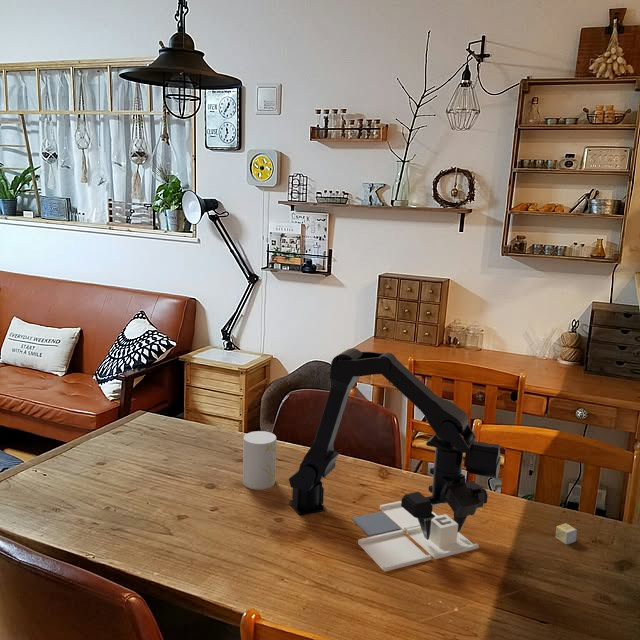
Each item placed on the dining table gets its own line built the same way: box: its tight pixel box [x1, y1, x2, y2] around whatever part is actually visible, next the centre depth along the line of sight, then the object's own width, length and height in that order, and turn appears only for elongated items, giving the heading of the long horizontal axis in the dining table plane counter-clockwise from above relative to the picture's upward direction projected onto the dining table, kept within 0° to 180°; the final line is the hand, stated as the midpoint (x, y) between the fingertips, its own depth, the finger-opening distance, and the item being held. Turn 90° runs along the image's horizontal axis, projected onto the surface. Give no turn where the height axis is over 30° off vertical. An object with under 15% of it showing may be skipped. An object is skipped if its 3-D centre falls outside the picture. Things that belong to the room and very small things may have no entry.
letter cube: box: [429, 513, 458, 548], centre depth 138 cm, size 4×4×5 cm
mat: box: [350, 510, 401, 537], centre depth 144 cm, size 8×8×1 cm
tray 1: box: [379, 500, 439, 533], centre depth 148 cm, size 11×11×1 cm
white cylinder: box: [242, 430, 277, 490], centre depth 161 cm, size 8×8×12 cm
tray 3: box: [405, 526, 480, 560], centre depth 138 cm, size 11×11×1 cm
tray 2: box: [357, 529, 432, 572], centre depth 133 cm, size 11×11×1 cm
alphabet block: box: [555, 523, 578, 545], centre depth 141 cm, size 3×3×3 cm
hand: (441, 535), depth 138 cm, fingers open, 8 cm apart
